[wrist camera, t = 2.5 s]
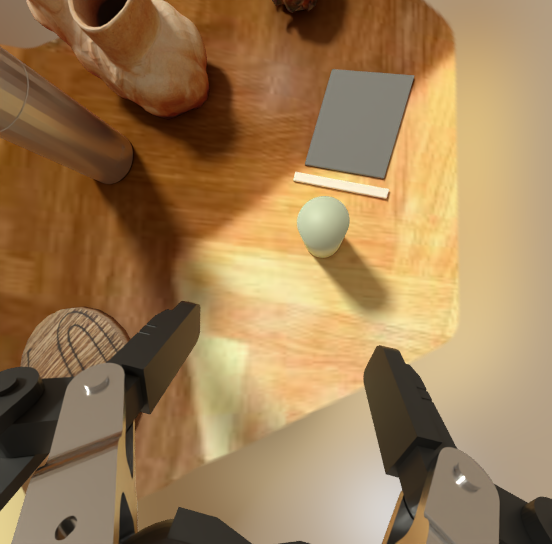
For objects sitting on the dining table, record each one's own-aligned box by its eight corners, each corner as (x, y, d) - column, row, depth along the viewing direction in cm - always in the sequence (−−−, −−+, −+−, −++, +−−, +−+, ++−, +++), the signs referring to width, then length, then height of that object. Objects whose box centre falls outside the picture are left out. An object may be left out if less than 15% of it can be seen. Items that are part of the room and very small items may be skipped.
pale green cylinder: (300, 252, 32) (291, 239, 22) (310, 219, 32) (305, 191, 22) (335, 261, 31) (340, 252, 21) (345, 227, 31) (355, 202, 21)
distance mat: (293, 181, 33) (293, 179, 32) (325, 70, 32) (325, 68, 32) (385, 199, 30) (386, 197, 30) (421, 78, 30) (422, 75, 29)
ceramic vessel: (121, 16, 41) (8, -131, 26) (233, 62, 36) (170, -90, 21) (87, 85, 42) (-39, -20, 27) (191, 139, 37) (104, 46, 22)
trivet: (79, 478, 39) (67, 488, 37) (13, 367, 44) (-1, 370, 42) (170, 387, 36) (161, 393, 34) (88, 278, 41) (77, 278, 39)
